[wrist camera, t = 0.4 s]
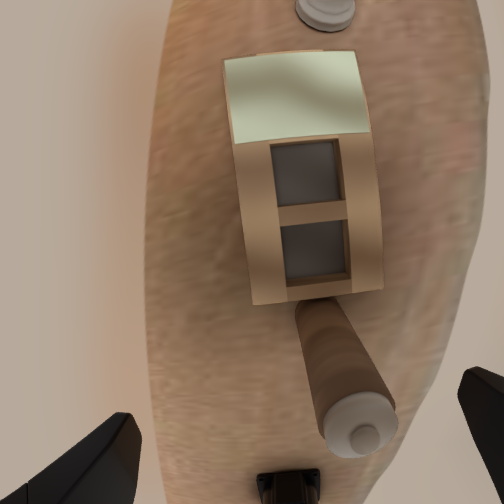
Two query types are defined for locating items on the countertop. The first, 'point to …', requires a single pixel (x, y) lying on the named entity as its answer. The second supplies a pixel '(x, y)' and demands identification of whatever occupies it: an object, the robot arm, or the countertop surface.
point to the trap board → (305, 174)
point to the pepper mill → (343, 382)
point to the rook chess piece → (326, 13)
